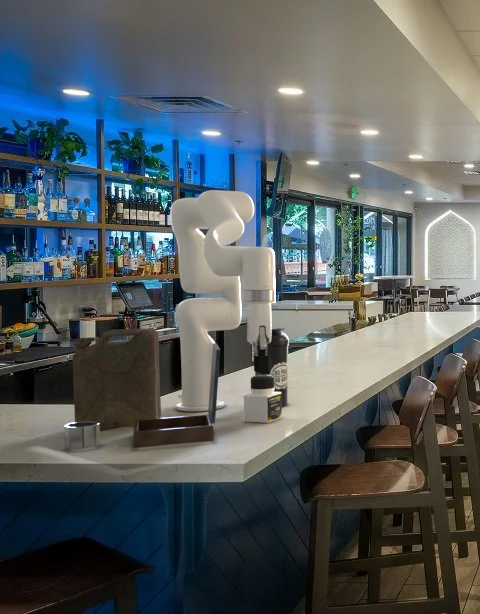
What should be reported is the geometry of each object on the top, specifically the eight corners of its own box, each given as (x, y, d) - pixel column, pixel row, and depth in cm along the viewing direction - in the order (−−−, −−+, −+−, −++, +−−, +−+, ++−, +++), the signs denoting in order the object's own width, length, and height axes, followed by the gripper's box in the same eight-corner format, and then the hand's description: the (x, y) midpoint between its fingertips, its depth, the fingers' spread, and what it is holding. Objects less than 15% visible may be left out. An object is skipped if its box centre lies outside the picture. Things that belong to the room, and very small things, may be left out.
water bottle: (269, 410, 224) (268, 329, 223) (246, 406, 229) (244, 328, 228) (297, 404, 233) (296, 327, 231) (274, 401, 238) (273, 325, 237)
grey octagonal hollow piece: (60, 449, 179) (59, 425, 178) (90, 443, 184) (89, 420, 184) (74, 453, 175) (73, 428, 175) (104, 447, 180) (104, 423, 180)
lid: (216, 349, 183) (220, 349, 183) (213, 343, 196) (216, 343, 197) (211, 423, 184) (215, 423, 184) (208, 412, 197) (211, 412, 197)
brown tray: (133, 451, 177) (133, 432, 177) (135, 437, 190) (135, 420, 190) (213, 443, 184) (213, 425, 184) (210, 431, 197) (209, 414, 197)
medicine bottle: (268, 423, 207) (267, 377, 206) (243, 422, 208) (242, 377, 207) (282, 417, 214) (281, 374, 213) (258, 416, 215) (257, 373, 214)
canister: (162, 422, 208) (159, 327, 206) (156, 428, 200) (153, 330, 198) (82, 426, 203) (79, 329, 201) (72, 433, 195) (69, 332, 193)
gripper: (240, 296, 199) (242, 368, 200) (246, 298, 185) (248, 376, 186) (271, 295, 202) (273, 367, 203) (279, 298, 188) (281, 374, 189)
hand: (261, 371), depth 194 cm, fingers closed
